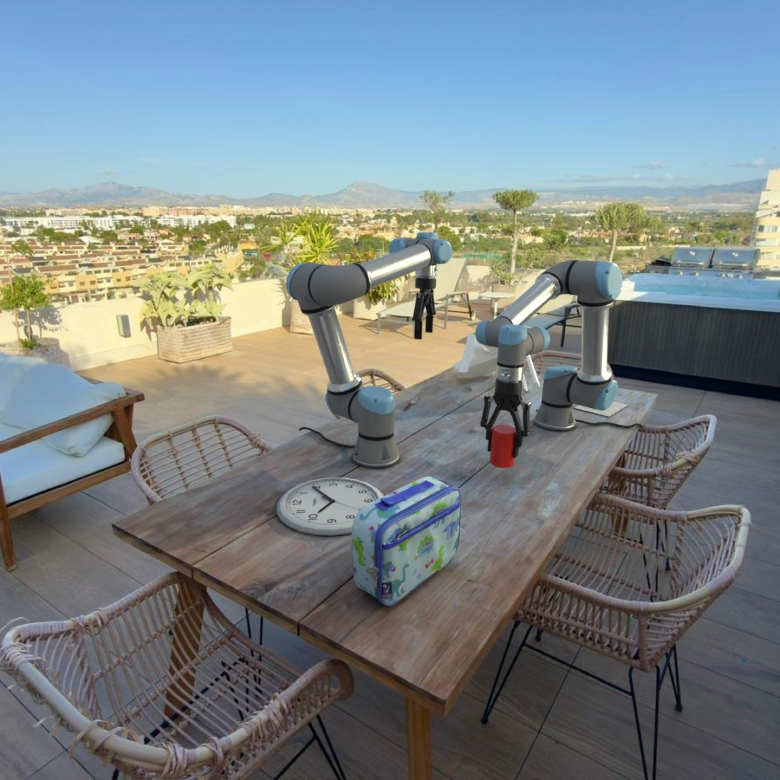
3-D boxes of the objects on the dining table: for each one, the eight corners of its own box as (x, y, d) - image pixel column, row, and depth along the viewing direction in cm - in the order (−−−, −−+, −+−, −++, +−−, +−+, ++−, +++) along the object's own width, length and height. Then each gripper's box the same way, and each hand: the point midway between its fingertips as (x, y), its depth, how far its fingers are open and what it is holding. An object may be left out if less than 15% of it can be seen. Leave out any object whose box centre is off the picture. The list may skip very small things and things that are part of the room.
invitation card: (608, 416, 214) (573, 407, 224) (608, 416, 214) (573, 408, 224) (628, 404, 229) (594, 396, 238) (628, 405, 229) (594, 397, 238)
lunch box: (381, 619, 101) (382, 525, 95) (345, 592, 109) (344, 503, 102) (464, 563, 119) (469, 480, 113) (428, 543, 126) (432, 464, 120)
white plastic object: (474, 420, 264) (452, 397, 239) (456, 347, 286) (434, 319, 261) (545, 396, 252) (530, 369, 227) (521, 322, 274) (504, 290, 249)
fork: (400, 411, 216) (400, 406, 215) (412, 399, 230) (412, 395, 230) (406, 412, 215) (406, 407, 215) (418, 400, 230) (418, 396, 229)
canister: (515, 468, 153) (518, 434, 150) (490, 467, 154) (493, 432, 151) (512, 458, 160) (515, 425, 157) (489, 457, 161) (491, 424, 157)
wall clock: (392, 527, 129) (268, 531, 127) (391, 533, 130) (269, 537, 127) (383, 473, 158) (282, 475, 155) (383, 478, 158) (282, 480, 156)
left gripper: (425, 280, 174) (423, 343, 181) (445, 275, 197) (442, 330, 203) (404, 279, 177) (402, 341, 183) (426, 274, 199) (423, 329, 205)
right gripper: (471, 376, 151) (466, 449, 158) (539, 388, 141) (531, 466, 148) (481, 371, 157) (476, 441, 164) (548, 382, 147) (539, 456, 154)
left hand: (423, 335), depth 193 cm, fingers open, 13 cm apart
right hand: (502, 453), depth 156 cm, fingers closed on canister, 7 cm apart
